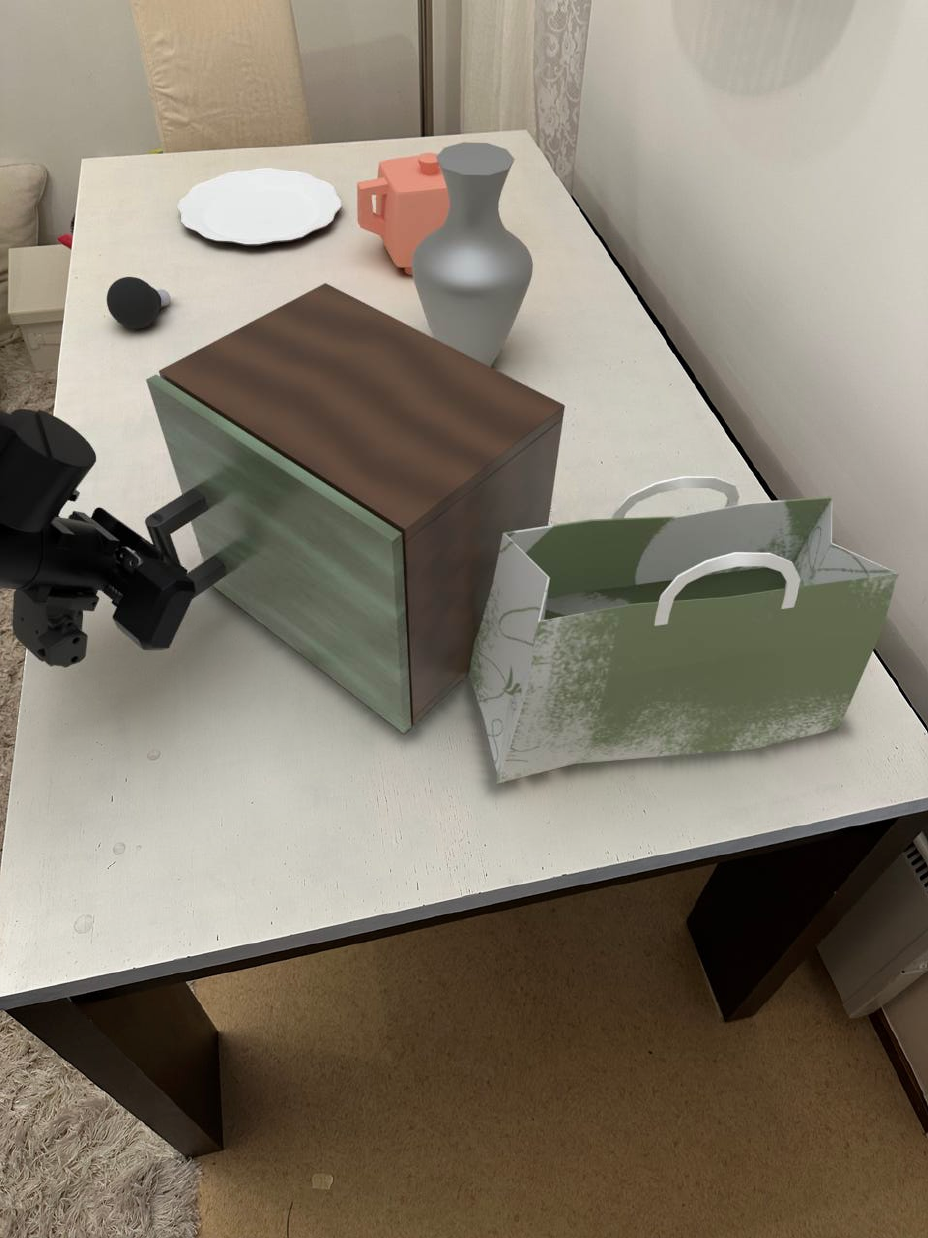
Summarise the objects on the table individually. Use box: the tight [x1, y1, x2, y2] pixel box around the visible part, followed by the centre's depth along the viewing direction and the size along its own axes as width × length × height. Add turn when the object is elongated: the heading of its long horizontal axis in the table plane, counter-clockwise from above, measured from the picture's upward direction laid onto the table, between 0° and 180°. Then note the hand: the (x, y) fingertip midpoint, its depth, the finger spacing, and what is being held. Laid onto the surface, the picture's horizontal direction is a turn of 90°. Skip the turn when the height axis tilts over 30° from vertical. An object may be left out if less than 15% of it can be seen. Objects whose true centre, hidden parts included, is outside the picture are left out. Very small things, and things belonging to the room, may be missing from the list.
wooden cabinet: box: [158, 282, 566, 726], centre depth 75 cm, size 18×26×24 cm
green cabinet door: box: [144, 374, 412, 734], centre depth 69 cm, size 6×26×24 cm, turn 50°
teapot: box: [356, 152, 449, 276], centre depth 121 cm, size 22×13×14 cm, turn 108°
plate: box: [176, 167, 343, 247], centre depth 133 cm, size 25×25×2 cm
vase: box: [411, 141, 534, 368], centre depth 100 cm, size 14×14×25 cm
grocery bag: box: [468, 475, 899, 785], centre depth 68 cm, size 32×14×23 cm, turn 101°
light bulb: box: [106, 276, 172, 330], centre depth 112 cm, size 6×6×10 cm
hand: (177, 569), depth 75 cm, fingers closed on green cabinet door, 2 cm apart
